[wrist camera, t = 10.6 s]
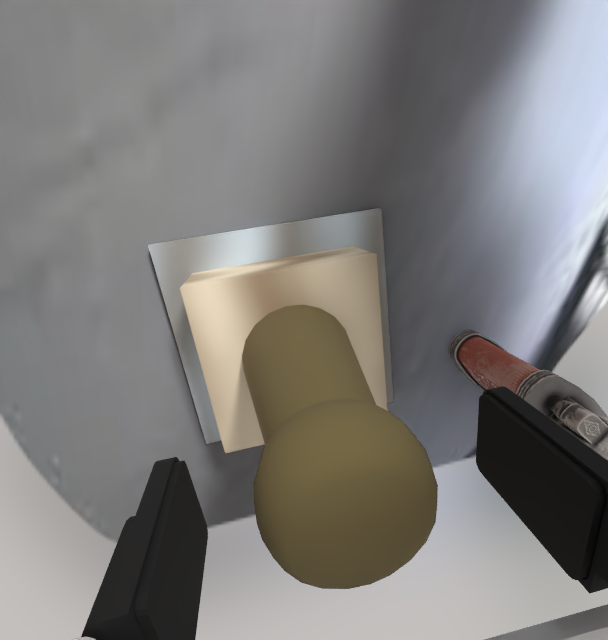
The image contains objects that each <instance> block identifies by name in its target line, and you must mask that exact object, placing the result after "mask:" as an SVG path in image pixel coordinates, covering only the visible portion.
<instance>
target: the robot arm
mask: <svg viewBox="0 0 608 640" xmlns="http://www.w3.org/2000/svg"><path fill="white" fill-rule="evenodd" d="M476 463H477V466H478V469H479V470H480V472H481V473H482V474H483V476H484V477H485V478H486V479H487V480H488V482H489V483H490V484H491V485H492V486H493V487H494V489H495V490H496V491H497V492H498V493H499V494H500V495H501V497H502V498H503V499H504V500H505V502H506V503H507V504H508V505H509V506H510V507H511V509H512V510H513V511H514V512H515V513H516V514H517V515H518V516H519V518H520V519H521V520H522V522H523V523H524V524H525V525H526V526H527V527H528V529H530V531H531V532H532V533H533V534H534V535H535V537H536V538H537V539H538V540H539V541H540V543H541V544H542V545H543V546H544V547H545V549H547V551H548V552H549V553H550V554H551V555H552V557H553V558H554V559H555V560H556V561H557V563H558V564H559V565H560V566H561V567H562V568H563V570H564V571H565V572H566V573H567V574H568V575H569V576H570V577H571V578H572V579H575V580H578V581H579V582H580V583H581V584H582V585H583V586H584V587H585V589H586V590H587V591H588V592H589V593H593V592H596V591H599V590H603V589H606V588H608V461H607V460H606V459H605V458H603V457H602V456H601V455H599V454H598V453H596V452H595V451H594V450H592V449H591V448H590V447H588V446H587V445H585V444H584V443H583V442H581V441H580V440H579V439H577V438H576V437H574V436H573V435H572V434H570V433H569V432H568V431H566V430H565V429H563V428H562V427H561V426H559V425H558V424H557V423H555V422H554V421H552V420H551V419H550V418H548V417H547V416H546V415H544V414H543V413H541V412H540V411H539V410H537V409H536V408H535V407H533V406H532V405H530V404H529V403H528V402H526V401H525V400H524V399H522V398H521V397H519V396H518V395H517V394H515V393H514V392H512V391H511V390H510V389H508V388H507V387H505V386H501V387H496V388H491V389H487V390H485V391H484V392H483V395H482V396H480V399H479V415H478V433H477V452H476ZM207 539H208V531H207V525H206V522H205V519H204V516H203V513H202V510H201V507H200V504H199V501H198V498H197V495H196V492H195V489H194V486H193V483H192V480H191V477H190V474H189V471H188V468H187V465H186V463H185V461H180V462H179V460H178V458H177V457H174V458H169V459H165V460H160V461H157V462H155V464H154V466H153V469H152V472H151V474H150V477H149V480H148V483H147V486H146V488H145V491H144V494H143V497H142V499H141V502H140V505H139V508H138V511H137V513H136V516H133V517H130V518H129V519H128V520H127V521H126V523H125V525H124V527H123V530H122V532H121V535H120V537H119V540H118V543H117V545H116V548H115V550H114V553H113V556H112V558H111V561H110V563H109V566H108V569H107V571H106V574H105V577H104V579H103V582H102V584H101V587H100V589H99V592H98V595H97V597H96V600H95V602H94V605H93V607H92V611H91V613H90V615H89V618H88V620H87V623H86V626H85V628H84V631H83V634H82V636H81V638H75V639H73V640H195V636H196V628H197V620H198V612H199V604H200V596H201V587H202V580H203V572H204V563H205V555H206V547H207ZM486 640H608V605H604V606H601V607H597V608H593V609H590V610H586V611H583V612H580V613H576V614H573V615H569V616H565V617H562V618H558V619H555V620H551V621H548V622H544V623H541V624H537V625H534V626H530V627H527V628H523V629H520V630H517V631H513V632H509V633H506V634H503V635H499V636H496V637H492V638H489V639H486Z"/></svg>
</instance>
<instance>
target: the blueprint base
mask: <svg viewBox="0 0 608 640" xmlns="http://www.w3.org/2000/svg"><path fill="white" fill-rule="evenodd" d="M148 247H149V250H150V254H151V257H152V261H153V264H154V267H155V271H156V274H157V278H158V281H159V285H160V288H161V291H162V295H163V298H164V302H165V305H166V308H167V312H168V315H169V319H170V322H171V325H172V329H173V332H174V336H175V339H176V342H177V346H178V349H179V353H180V356H181V359H182V363H183V366H184V370H185V373H186V376H187V380H188V383H189V387H190V390H191V394H192V397H193V400H194V404H195V407H196V411H197V414H198V417H199V421H200V424H201V428H202V431H203V434H204V438H205V441H206V444H209V443H213V442H218V441H222V444H223V447H224V451H225V453H229V452H233V451H238V450H242V449H247V448H251V447H255V446H260V445H264V444H265V443H264V440H263V436H262V433H261V429H260V426H259V422H258V419H257V415H256V412H255V408H254V405H253V401H252V398H251V395H250V391H249V388H248V384H247V381H246V377H245V374H244V368H243V360H242V354H243V350H244V345H245V341H246V339H247V337H248V335H249V334H250V332H251V330H252V329H253V327H254V326H255V324H257V323H258V322H259V321H260V320H261V319H263V318H264V317H265V316H266V315H267V314H268V313H271V312H273V311H275V310H278V309H280V308H283V307H285V306H293V305H308V306H313V307H317V308H321V309H323V310H324V311H326V312H328V313H329V314H331V315H333V316H335V318H336V319H337V320H338V321H339V322H340V323H341V325H342V326H343V327H344V328H345V330H346V333H347V335H348V337H349V340H350V342H351V345H352V347H353V349H354V352H355V354H356V357H357V359H358V362H359V364H360V366H361V369H362V371H363V374H364V376H365V378H366V381H367V383H368V386H369V388H370V391H371V393H372V395H373V398H374V400H375V403H376V405H377V406H379V407H381V408H383V409H385V410H387V403H392V402H394V399H393V383H392V367H391V351H390V335H389V319H388V303H387V287H386V271H385V254H384V238H383V222H382V208H376V209H369V210H363V211H357V212H350V213H344V214H338V215H331V216H325V217H319V218H312V219H306V220H300V221H294V222H287V223H281V224H275V225H268V226H262V227H256V228H249V229H243V230H237V231H230V232H224V233H218V234H211V235H205V236H199V237H192V238H186V239H180V240H173V241H167V242H161V243H154V244H150V245H148ZM387 411H388V410H387Z"/></svg>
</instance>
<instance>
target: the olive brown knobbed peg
mask: <svg viewBox="0 0 608 640" xmlns="http://www.w3.org/2000/svg"><path fill="white" fill-rule="evenodd" d="M242 360H243V368H244V374H245V377H246V381H247V384H248V388H249V391H250V395H251V398H252V401H253V405H254V408H255V412H256V415H257V419H258V422H259V426H260V429H261V433H262V436H263V440H264V443H265V447H264V449H263V453H262V456H261V459H260V463H259V466H258V470H257V474H256V478H255V482H254V505H255V512H256V519H257V525H258V528H259V531H260V534H261V537H262V540H263V541H264V543H265V545H266V546H267V548H268V550H269V551H270V553H271V554H272V556H273V558H274V559H275V560H276V561H277V562H278V564H279V565H280V566H281V567H282V568H283V569H284V571H286V572H287V573H289V574H290V575H291V576H293V577H294V578H296V579H297V580H299V581H300V582H302V583H305V584H309V585H313V586H316V587H319V588H329V589H332V588H333V589H349V588H354V587H359V586H363V585H368V584H372V583H374V582H376V581H378V580H380V579H383V578H385V577H387V576H389V575H391V574H392V573H394V572H395V571H396V570H398V569H399V568H400V567H402V566H403V565H405V564H406V563H407V562H409V561H410V560H411V559H412V558H413V557H414V556H415V554H416V553H417V552H418V551H419V550H420V548H421V547H422V546H423V545H424V544H425V543H426V541H427V539H428V536H429V535H430V532H431V530H432V528H433V526H434V524H435V520H436V510H437V487H438V485H437V482H436V479H435V476H434V473H433V469H432V466H431V463H430V461H429V458H428V455H427V452H426V450H425V448H424V447H423V445H422V444H421V443H420V442H419V440H418V439H417V438H416V436H415V435H414V434H413V433H412V432H411V431H410V430H409V428H408V427H407V426H406V425H405V424H404V423H403V422H402V420H401V419H399V418H398V417H396V416H395V415H393V414H392V413H390V412H389V411H387V410H385V409H383V408H381V407H379V406H377V405H376V403H375V400H374V398H373V395H372V393H371V391H370V388H369V386H368V383H367V381H366V378H365V376H364V374H363V371H362V369H361V366H360V364H359V362H358V359H357V357H356V354H355V352H354V349H353V347H352V345H351V342H350V340H349V337H348V335H347V333H346V330H345V328H344V327H343V326H342V325H341V323H340V322H339V321H338V320H337V319H336V318H335V316H333V315H331V314H329V313H328V312H326V311H324V310H323V309H321V308H317V307H313V306H308V305H293V306H285V307H283V308H280V309H278V310H275V311H273V312H271V313H268V314H267V315H266V316H265V317H264V318H263V319H261V320H260V321H259V322H258V323H257V324H255V326H254V327H253V329H252V330H251V332H250V334H249V335H248V337H247V339H246V341H245V345H244V350H243V354H242Z"/></svg>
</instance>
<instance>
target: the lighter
mask: <svg viewBox="0 0 608 640" xmlns="http://www.w3.org/2000/svg"><path fill="white" fill-rule="evenodd" d="M449 355H450V357H451V358H452V360H453V361H454V362H455V364H456V365H457V367H458V368H459V369H460V370H461V371H462V372H463V373H464V374H465V376H466V377H467V378H468V379H469V380H470V381H472V382H473V383H474V384H475V385H477V386H478V387H480V388H481V389H482V390H484V391H485V390H487V389H491V388H496V387H501V386H505V387H507V388H508V389H510V390H511V391H512V392H514V393H515V394H517V395H518V396H519V397H521V398H522V399H524V400H525V401H526V402H528V403H529V404H530V405H532V406H533V407H535V408H536V409H537V410H539V411H540V412H541V413H543V414H544V415H546V416H547V417H548V418H550V419H551V420H552V421H554V422H555V423H557V424H558V425H559V426H561V427H562V428H563V429H565V430H566V431H568V432H569V433H570V434H572V435H573V436H574V437H576V438H577V439H579V440H580V441H581V442H583V443H584V444H585V445H587V446H588V447H590V448H591V449H592V450H594V451H595V452H596V453H598V454H599V455H601V456H602V457H603V458H605V459H606V460H607V461H608V417H607V415H606V414H605V413H604V411H603V410H602V409H601V408H600V406H599V405H598V404H597V402H596V401H595V400H594V399H593V398H592V397H590V396H589V395H588V394H587V393H585V392H584V391H583V390H582V389H580V388H579V387H577V386H576V385H574V384H572V383H570V382H568V381H567V380H565V379H563V378H561V377H559V376H558V375H556V374H554V373H552V372H550V371H547V370H539V369H537V368H535V367H533V366H532V365H530V364H528V363H526V362H524V361H523V360H521V359H519V358H517V357H515V356H513V355H512V354H510V353H508V352H507V351H506V350H504V349H503V348H502V347H501V346H499V345H498V344H497V343H495V342H493V341H492V340H490V339H488V338H486V337H484V336H483V335H481V334H479V333H477V332H475V331H473V330H464V331H462V332H460V333H459V334H457V335H456V336H455V337H454V338H453V340H452V341H451V343H450V346H449Z"/></svg>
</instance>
